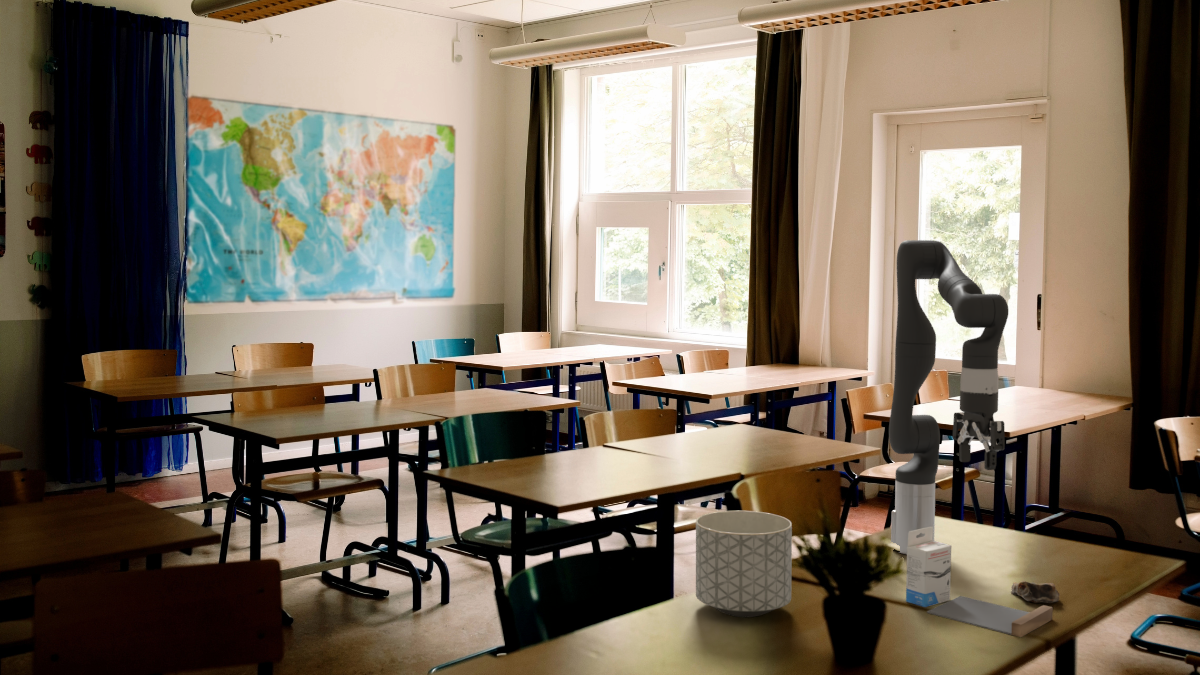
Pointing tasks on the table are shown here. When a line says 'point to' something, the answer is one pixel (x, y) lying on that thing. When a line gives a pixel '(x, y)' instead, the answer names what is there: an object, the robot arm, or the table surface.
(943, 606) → the mat
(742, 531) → the planter
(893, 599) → the table surface
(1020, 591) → the rock
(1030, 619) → the stop rail
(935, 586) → the ink box
